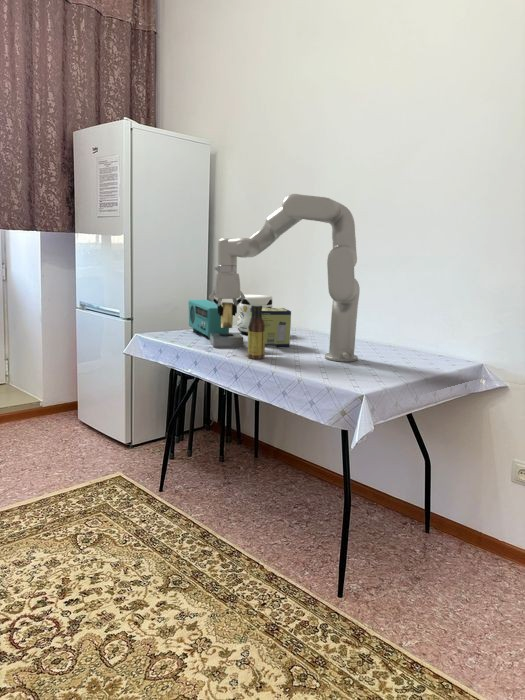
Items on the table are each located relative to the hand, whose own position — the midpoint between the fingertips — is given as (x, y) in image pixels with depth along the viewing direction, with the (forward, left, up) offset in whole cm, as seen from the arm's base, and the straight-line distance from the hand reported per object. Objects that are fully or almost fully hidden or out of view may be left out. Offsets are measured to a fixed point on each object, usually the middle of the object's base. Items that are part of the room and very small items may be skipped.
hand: (227, 315), depth 216 cm
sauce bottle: (-22, -8, -14) cm, 27 cm away
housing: (0, 0, -13) cm, 13 cm away
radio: (+27, +5, -14) cm, 31 cm away
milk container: (+35, -19, -14) cm, 42 cm away
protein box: (+4, -19, -14) cm, 24 cm away
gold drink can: (0, 0, -5) cm, 5 cm away
